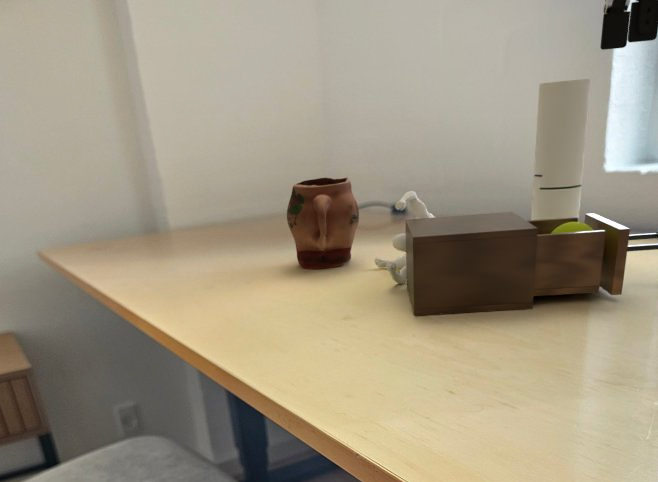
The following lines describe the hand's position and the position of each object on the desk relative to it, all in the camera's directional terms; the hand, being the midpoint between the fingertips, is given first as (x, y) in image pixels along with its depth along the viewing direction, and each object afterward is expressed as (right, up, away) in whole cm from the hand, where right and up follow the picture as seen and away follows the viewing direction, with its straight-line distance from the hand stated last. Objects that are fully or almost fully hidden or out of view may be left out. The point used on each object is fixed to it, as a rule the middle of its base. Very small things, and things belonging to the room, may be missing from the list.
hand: (626, 45), depth 83 cm
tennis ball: (-6, -28, +4) cm, 29 cm away
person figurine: (-23, -24, +20) cm, 39 cm away
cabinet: (-19, -31, +6) cm, 37 cm away
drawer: (-4, -29, +4) cm, 30 cm away
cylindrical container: (-1, -20, +24) cm, 31 cm away
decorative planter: (-38, -19, +32) cm, 53 cm away
